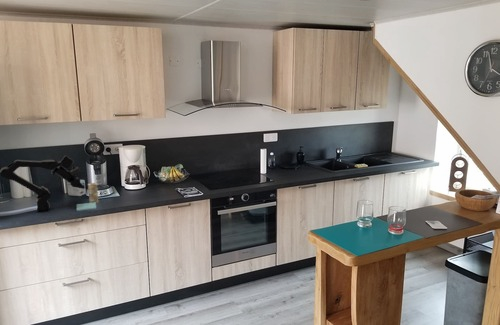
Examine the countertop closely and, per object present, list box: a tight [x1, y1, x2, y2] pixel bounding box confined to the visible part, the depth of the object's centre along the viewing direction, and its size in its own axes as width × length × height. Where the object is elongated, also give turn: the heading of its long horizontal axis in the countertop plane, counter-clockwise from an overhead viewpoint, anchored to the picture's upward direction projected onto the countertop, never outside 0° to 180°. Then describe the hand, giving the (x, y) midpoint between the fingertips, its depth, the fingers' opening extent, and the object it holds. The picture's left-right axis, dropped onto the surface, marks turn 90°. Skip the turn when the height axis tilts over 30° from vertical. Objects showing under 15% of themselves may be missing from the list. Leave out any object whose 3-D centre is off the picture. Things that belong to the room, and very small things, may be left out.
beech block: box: [87, 182, 99, 204], centre depth 268 cm, size 5×5×13 cm
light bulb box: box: [66, 179, 87, 197], centre depth 285 cm, size 11×7×11 cm, turn 75°
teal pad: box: [76, 202, 97, 212], centre depth 258 cm, size 12×12×1 cm
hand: (83, 186), depth 263 cm, fingers open, 9 cm apart
